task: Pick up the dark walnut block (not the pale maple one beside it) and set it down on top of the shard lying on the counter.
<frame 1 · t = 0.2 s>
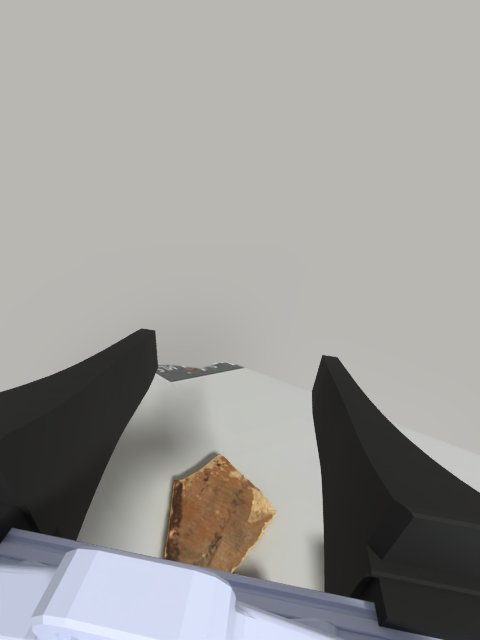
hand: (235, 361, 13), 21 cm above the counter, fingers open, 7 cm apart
shard: (223, 544, 26), on the counter
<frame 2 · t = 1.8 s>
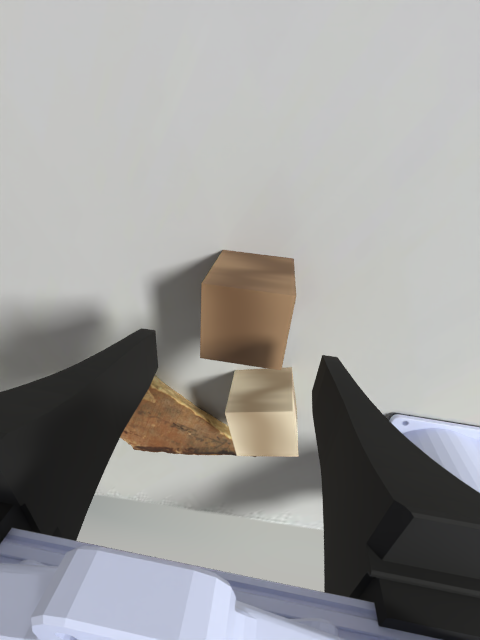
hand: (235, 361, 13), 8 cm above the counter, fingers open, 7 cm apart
walnut block: (254, 286, 20), on the counter
maple block: (266, 389, 24), on the counter
shard: (176, 402, 27), on the counter
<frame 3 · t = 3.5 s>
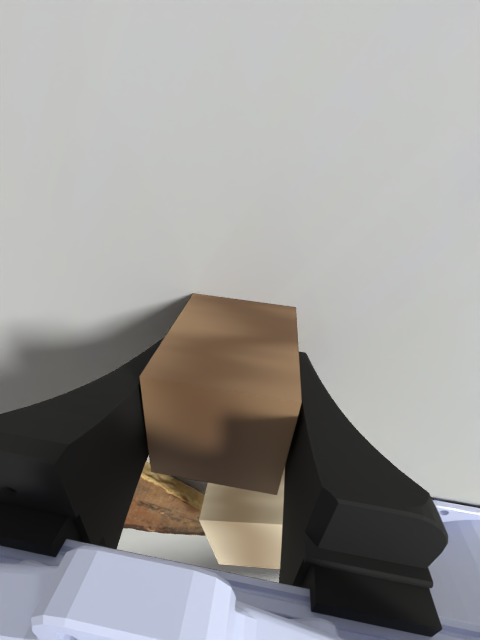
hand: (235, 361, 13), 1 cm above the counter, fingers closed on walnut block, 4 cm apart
walnut block: (239, 342, 14), on the counter, touching gripper
maple block: (259, 463, 18), on the counter
shard: (147, 467, 21), on the counter
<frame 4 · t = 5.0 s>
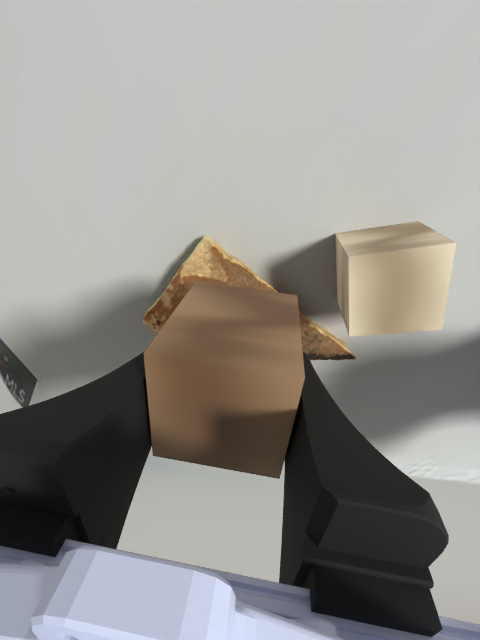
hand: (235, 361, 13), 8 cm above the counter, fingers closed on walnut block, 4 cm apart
walnut block: (241, 331, 14), point 7 cm above the counter, touching gripper
maple block: (373, 263, 18), on the counter
shard: (246, 296, 21), on the counter
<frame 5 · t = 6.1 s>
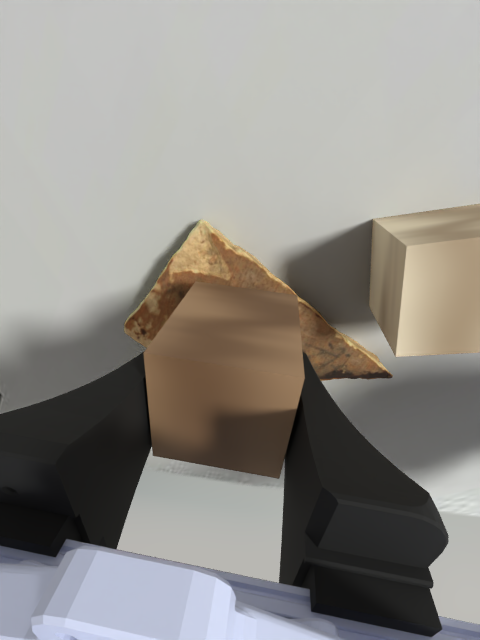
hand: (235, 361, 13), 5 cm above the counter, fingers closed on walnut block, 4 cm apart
walnut block: (241, 331, 14), point 3 cm above the counter, touching gripper
maple block: (420, 259, 14), on the counter
shard: (253, 298, 17), on the counter
when the fingers open (5 cm above the counter, at t = 6.7 s): walnut block drops 1 cm, resting on shard.
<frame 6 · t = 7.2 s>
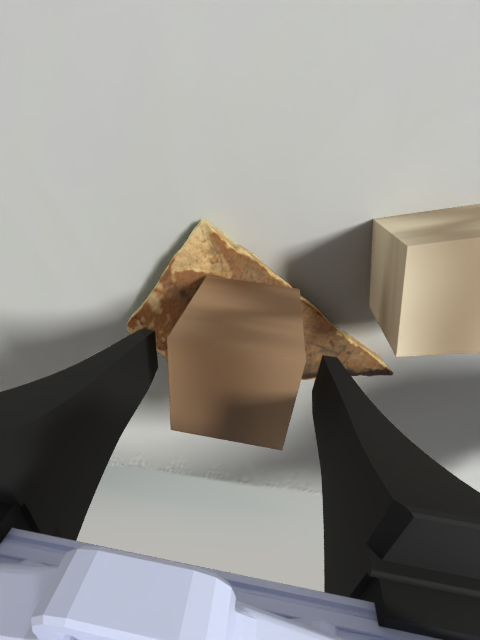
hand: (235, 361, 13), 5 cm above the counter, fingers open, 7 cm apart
walnut block: (247, 322, 15), point 1 cm above the counter, touching shard
maple block: (420, 259, 14), on the counter
shard: (254, 296, 17), on the counter, touching walnut block
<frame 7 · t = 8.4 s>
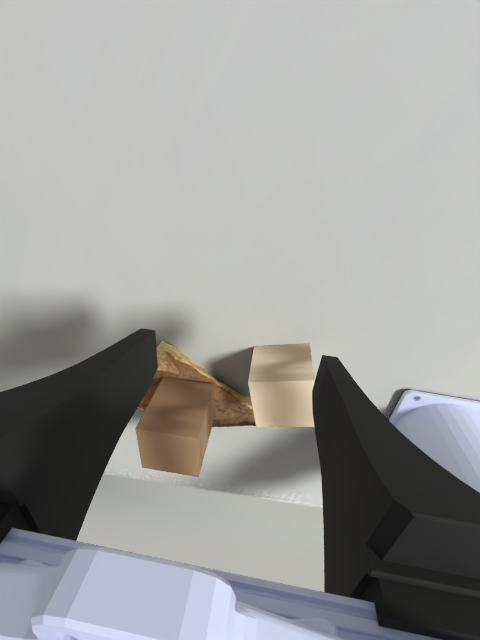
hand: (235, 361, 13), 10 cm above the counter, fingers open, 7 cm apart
walnut block: (189, 399, 26), point 1 cm above the counter, touching shard
maple block: (283, 366, 25), on the counter
shard: (197, 375, 28), on the counter, touching walnut block
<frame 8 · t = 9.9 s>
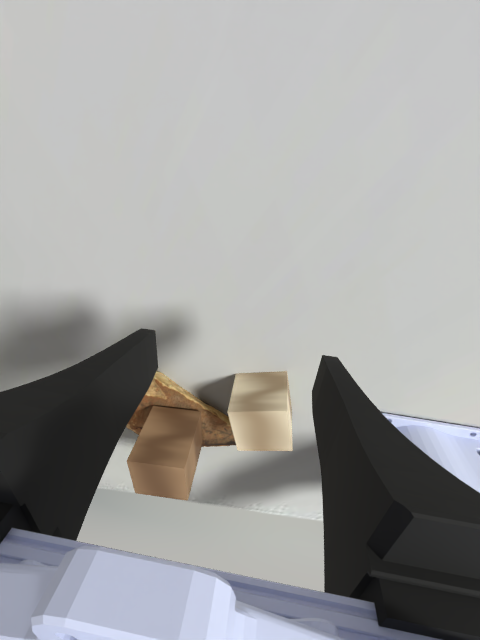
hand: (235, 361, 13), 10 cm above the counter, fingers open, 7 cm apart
walnut block: (178, 425, 28), point 2 cm above the counter, touching shard
maple block: (264, 391, 27), on the counter
shard: (186, 398, 30), on the counter, touching walnut block
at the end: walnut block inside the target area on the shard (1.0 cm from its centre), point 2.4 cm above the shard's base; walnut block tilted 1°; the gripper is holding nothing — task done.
